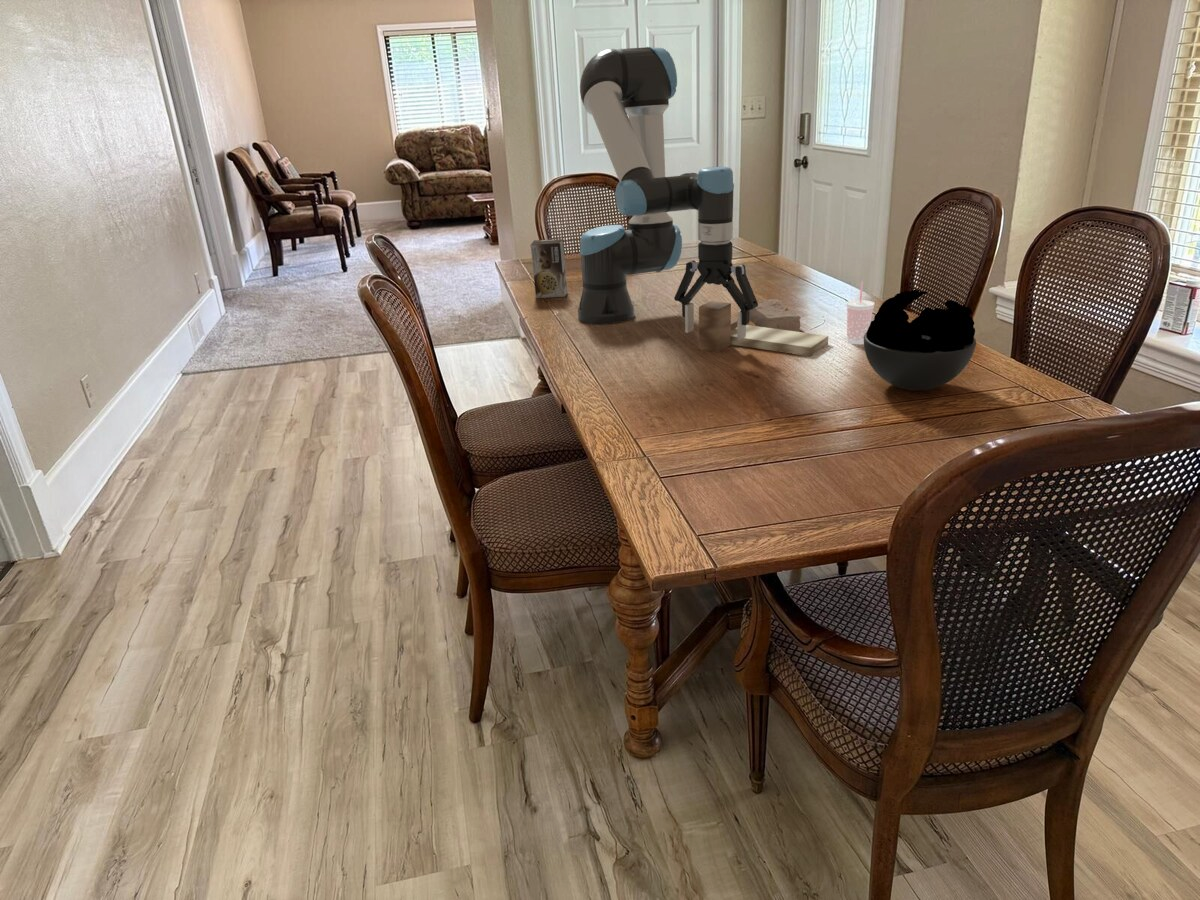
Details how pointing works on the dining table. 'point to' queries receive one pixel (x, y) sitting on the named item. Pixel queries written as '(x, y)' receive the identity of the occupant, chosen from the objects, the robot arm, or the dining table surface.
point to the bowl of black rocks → (919, 343)
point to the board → (780, 340)
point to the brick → (775, 316)
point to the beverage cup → (858, 318)
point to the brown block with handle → (715, 326)
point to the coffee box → (549, 268)
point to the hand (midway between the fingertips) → (714, 334)
